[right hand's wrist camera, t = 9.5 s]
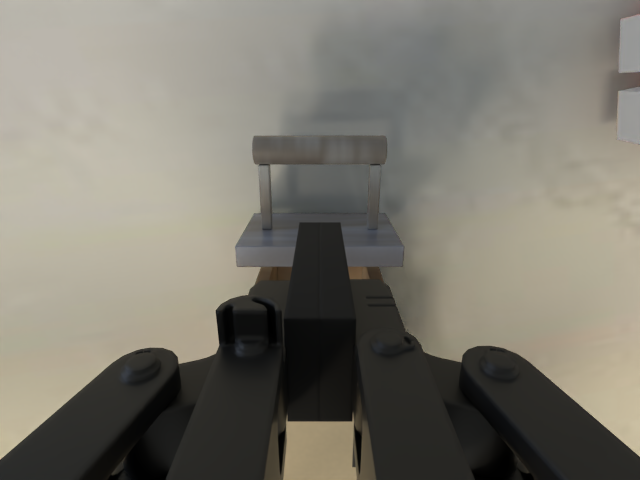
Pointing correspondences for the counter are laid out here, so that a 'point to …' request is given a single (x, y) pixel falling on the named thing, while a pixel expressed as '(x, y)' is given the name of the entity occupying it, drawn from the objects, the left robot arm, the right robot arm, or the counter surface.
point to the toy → (635, 103)
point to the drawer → (282, 228)
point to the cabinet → (319, 451)
